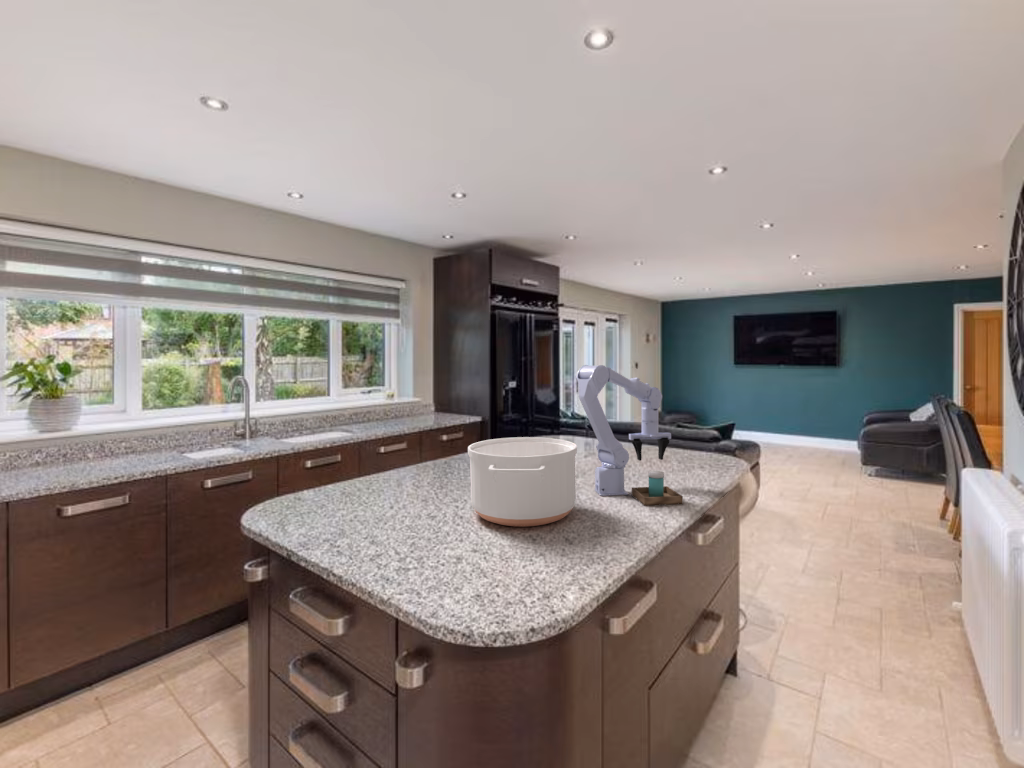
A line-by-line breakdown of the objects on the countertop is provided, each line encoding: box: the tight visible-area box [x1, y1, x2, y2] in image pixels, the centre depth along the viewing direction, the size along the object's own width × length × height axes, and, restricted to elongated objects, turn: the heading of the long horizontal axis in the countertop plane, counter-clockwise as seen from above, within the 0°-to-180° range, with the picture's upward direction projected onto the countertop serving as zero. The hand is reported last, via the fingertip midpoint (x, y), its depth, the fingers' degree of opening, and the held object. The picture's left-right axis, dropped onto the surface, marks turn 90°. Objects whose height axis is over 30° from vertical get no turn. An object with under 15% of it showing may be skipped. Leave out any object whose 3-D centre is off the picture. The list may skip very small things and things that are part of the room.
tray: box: [631, 485, 684, 507], centre depth 155 cm, size 12×12×2 cm
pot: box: [467, 436, 578, 528], centre depth 143 cm, size 42×32×20 cm
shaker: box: [647, 470, 665, 497], centre depth 155 cm, size 5×5×8 cm
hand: (650, 459), depth 171 cm, fingers open, 7 cm apart
